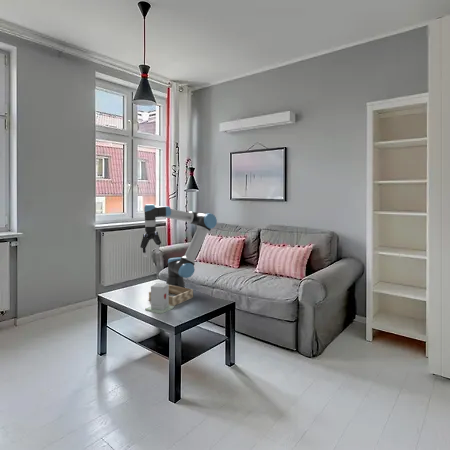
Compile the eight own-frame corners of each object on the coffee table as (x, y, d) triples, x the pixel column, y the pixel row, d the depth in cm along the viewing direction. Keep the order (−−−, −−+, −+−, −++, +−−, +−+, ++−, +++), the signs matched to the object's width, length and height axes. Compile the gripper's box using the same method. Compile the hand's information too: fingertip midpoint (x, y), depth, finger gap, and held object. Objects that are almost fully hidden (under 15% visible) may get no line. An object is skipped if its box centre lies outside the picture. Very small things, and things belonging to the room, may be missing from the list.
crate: (169, 292, 260) (169, 284, 260) (193, 297, 249) (193, 289, 248) (148, 300, 241) (148, 292, 241) (173, 306, 230) (173, 297, 230)
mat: (159, 304, 233) (159, 303, 233) (174, 307, 227) (174, 306, 227) (145, 310, 222) (145, 308, 222) (160, 314, 216) (160, 312, 216)
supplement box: (163, 310, 219) (163, 287, 218) (150, 309, 221) (150, 286, 220) (169, 305, 228) (168, 283, 227) (156, 304, 230) (156, 282, 229)
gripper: (157, 223, 258) (158, 251, 261) (134, 227, 236) (135, 258, 239) (165, 224, 255) (166, 252, 257) (142, 228, 233) (144, 259, 235)
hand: (151, 255), depth 248 cm, fingers open, 13 cm apart
